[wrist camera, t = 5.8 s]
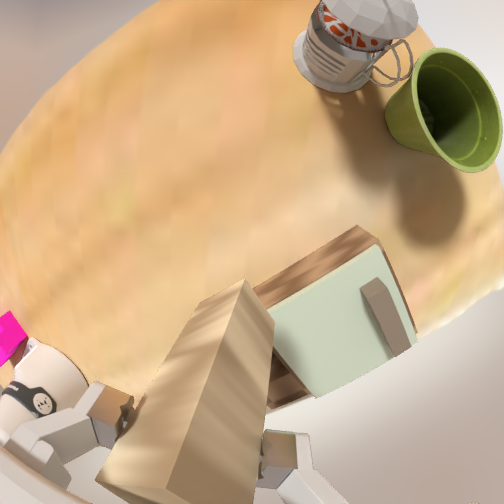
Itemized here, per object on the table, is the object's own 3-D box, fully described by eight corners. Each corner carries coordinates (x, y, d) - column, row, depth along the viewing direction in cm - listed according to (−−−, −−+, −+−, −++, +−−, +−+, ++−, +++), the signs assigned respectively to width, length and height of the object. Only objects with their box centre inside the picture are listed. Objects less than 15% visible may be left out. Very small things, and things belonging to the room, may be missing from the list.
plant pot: (441, 87, 25) (496, 71, 14) (443, 173, 29) (502, 182, 18) (363, 65, 25) (405, 30, 14) (364, 160, 29) (414, 160, 18)
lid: (314, 392, 30) (318, 413, 26) (254, 316, 27) (253, 336, 23) (414, 336, 27) (427, 353, 24) (375, 243, 24) (390, 255, 21)
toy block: (10, 309, 39) (-13, 326, 31) (27, 334, 40) (6, 353, 33) (-4, 335, 42) (-22, 350, 34) (11, 356, 43) (-6, 373, 36)
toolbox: (271, 374, 38) (271, 409, 31) (217, 309, 35) (206, 340, 28) (395, 306, 34) (417, 332, 27) (356, 224, 31) (379, 239, 24)
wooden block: (230, 342, 17) (169, 524, 5) (199, 302, 16) (94, 480, 5) (275, 322, 16) (248, 530, 5) (245, 278, 15) (165, 488, 4)
